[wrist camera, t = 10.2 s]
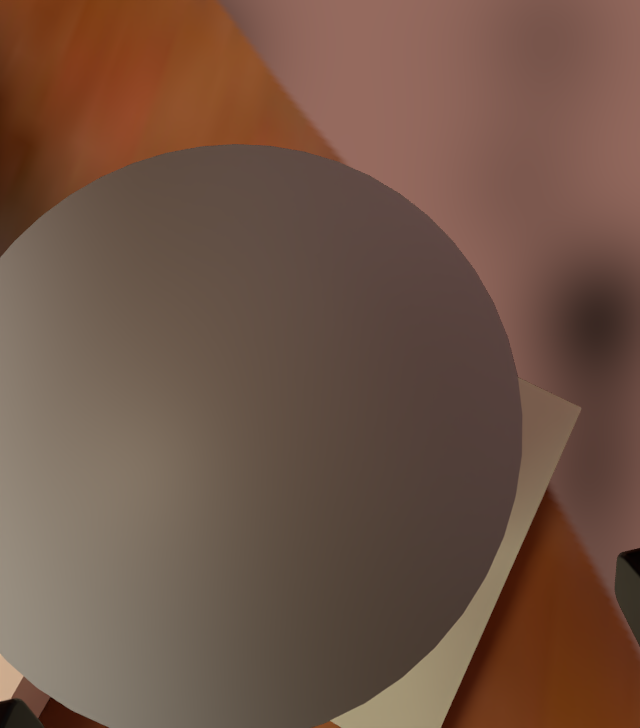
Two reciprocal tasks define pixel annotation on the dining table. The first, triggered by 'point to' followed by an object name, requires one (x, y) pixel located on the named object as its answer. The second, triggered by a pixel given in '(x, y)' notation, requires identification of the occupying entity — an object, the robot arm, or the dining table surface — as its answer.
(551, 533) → the dining table surface
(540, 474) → the pad
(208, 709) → the peg
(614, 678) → the dining table surface
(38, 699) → the pocket block
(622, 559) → the robot arm
